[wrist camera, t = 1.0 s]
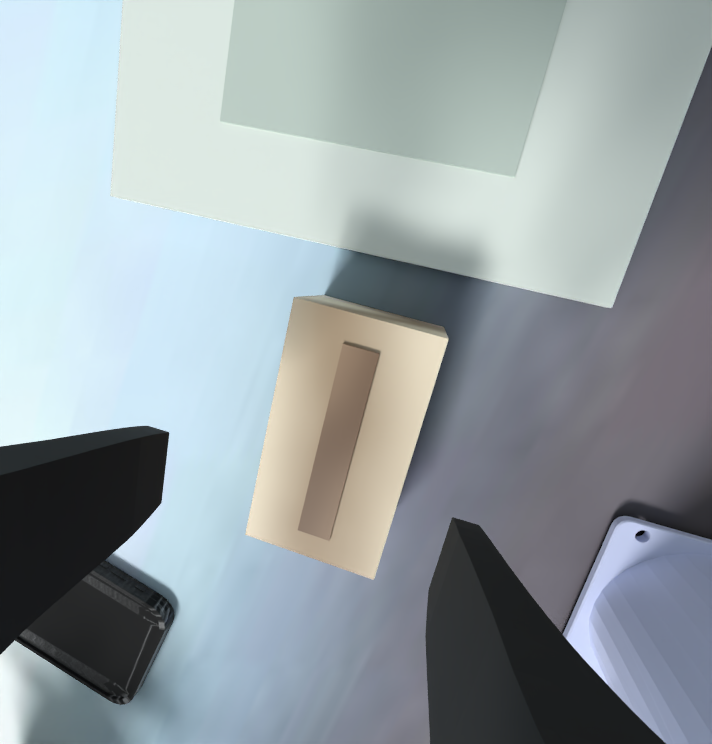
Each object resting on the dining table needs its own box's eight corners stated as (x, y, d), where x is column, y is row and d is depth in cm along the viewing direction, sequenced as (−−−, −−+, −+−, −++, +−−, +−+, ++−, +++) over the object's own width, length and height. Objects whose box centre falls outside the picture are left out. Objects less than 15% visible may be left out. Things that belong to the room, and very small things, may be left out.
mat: (776, -144, 11) (794, -168, 11) (605, 307, 14) (612, 308, 14) (146, -196, 14) (134, -218, 13) (119, 198, 17) (108, 195, 16)
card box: (443, 326, 16) (448, 339, 12) (385, 516, 18) (373, 581, 14) (325, 294, 16) (293, 296, 12) (283, 483, 18) (244, 536, 14)
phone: (126, 711, 22) (-88, 575, 23) (140, 691, 23) (-65, 562, 24) (171, 616, 20) (-66, 471, 21) (184, 600, 21) (-42, 462, 22)
